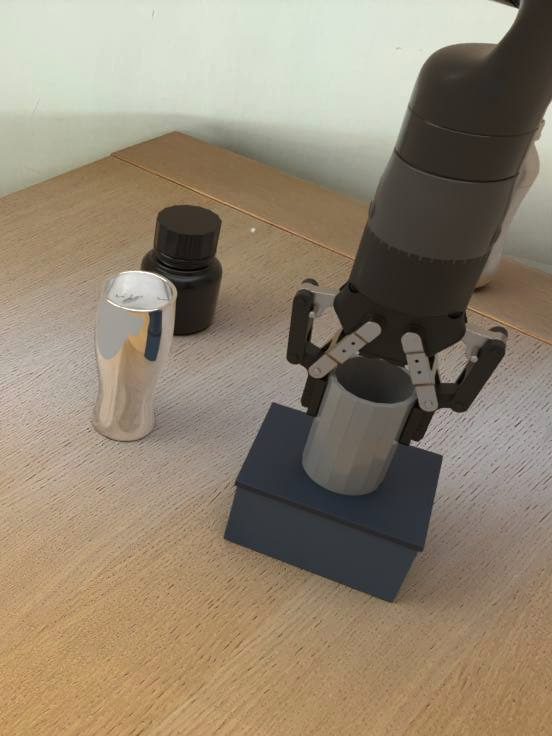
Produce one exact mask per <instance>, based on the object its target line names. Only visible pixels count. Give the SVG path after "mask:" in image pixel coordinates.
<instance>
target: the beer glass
mask: <svg viewBox="0 0 552 736" xmlns="http://www.w3.org/2000/svg"><path fill="white" fill-rule="evenodd" d="M176 298H177V290H176V288H175V286H174V285H173V283H172V282H171V281H169V280H168V279H166V278H165V277H163V276H161V275H158V274H156V273H152V272H148V271H141V270H140V269H128V270H122V271H117V272H115V273H112V274H110V275H108V276H107V277H106V278H104V280H103V281H102V282H101V284H100V292H99V297H98V303H97V306H96V307H97V308H96V313H95V322H94V332H93V333H94V335H93V336H94V337H93V342H94V343H93V344H94V355H95V363H96V366H95V367H96V373H97V382H98V383H97V384H98V386H97V387H98V389H97V396H96V398H95V401H94V402H95V403H94V405H93V408H92V412H91V422H92V426H93V427H94V428H95V430H96V431H97V432H98V433H100V434H101V435H103V436H104V437H106V438H108V439H110V440H115V441H121V442H131V441H137V440H141V439H142V438H144V437H146V436H148V435H149V434H151V432H152V431H153V429H154V426H155V408H154V407H155V406H154V401H155V400H154V399H155V393H156V390H157V388H158V387H157V386H158V385H159V382H160V379H161V376H162V374H163V371H164V368H165V366H166V363H167V361H168V358H169V355H170V352H171V351H170V350H171V348H172V343H173V339H174V334H173V333H174V325H175V313H176Z"/></svg>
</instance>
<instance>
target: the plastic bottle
mask: <svg viewBox="0 0 552 736" xmlns="http://www.w3.org/2000/svg"><path fill="white" fill-rule="evenodd" d="M545 124H546V120H545V119H544V118H543V120H542V122H541V124H540V126H539V129H538V131H537V134H536V136H535V138H534V141H533V143H532V145H531V148H530V150H529V152H528V155H527V157H526V159H525V162H524V164H523V166H522V169H521V172H520V174H519V177H518V180H517V183H516V187H515V191H514V195H513V199H512V202H511V206H510V208H509V211H508V214H507V216H506V218H505V220H504V223H503V225H502V232H501V235H500V237H499V239H498V240H497V242H496V243H495V244H494V246H493V248H492V251H491V253H490V255H489V258H488V260H487V262H486V265H485V267H484V269H483V272H482V274H481V276H480V279H479V281H478V283H477V285H476V288H475V289H477V288H478V289H479V288H482V287H483V286H485V285H487V284H489V283H490V282H491V281H492V280H493V279H494V277H495V276H496V274H497V273H498V271H499V268H500V264H501V260H502V254H503V248H504V245H505V242H506V239H507V236H508V233H509V229H510V227H511V225H512V223H513V220H514V217H515V216H516V215H517V213H518V210H519V208H520V206H521V204H522V202H523V201H524V199H525V198H526V196H527V195H528V194H529V193H528V192H530V190H531V188H532V186H533V184H534V183H535V181H536V180H537V177H538V176H539V174H540V170H541V169H540V166H541V161H540V156H539V153H538V150H537V147H536V145H535V143H536V142H537V141H539V140H540V139H541V137H542V131H543V129H544V126H545Z"/></svg>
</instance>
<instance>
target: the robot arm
mask: <svg viewBox="0 0 552 736" xmlns="http://www.w3.org/2000/svg"><path fill="white" fill-rule="evenodd" d="M488 1H490V2H492V3H496V4H500V5H504V6H506V7H510V8H513V9H517V10H518V11H517V13H516V16H515V19H514V21H513V22H512V24H511V26H510V28H509V29H508V31H507V32H506V33H505V34H504V36H503V37H502V38H501V39H500V40H499V42H497V43H490V42H489V43H488V42H461V43H455V44H450V45H446V46H443V47H440V48H439V49H438V50H436V51H434V52H433V53H431V54H430V55H429V56H428V58H426V60H425V61H424V63H423V64H422V65H421V68H420V69H419V72H418V74H417V77H416V79H415V82H414V85H413V88H412V91H411V94H410V98H409V100H408V103H407V106H406V109H405V113H404V114H403V115H404V116H403V118H402V121H401V125H400V128H399V132H398V133H397V134H398V135H397V137H396V141H395V145H394V147H393V150H392V153H391V155H390V158H389V159H388V161H387V163H386V165H385V167H384V169H383V172H382V174H381V176H380V179H379V181H378V184H377V187H376V190H375V194H374V197H373V199H372V200H371V202H370V203H369V206H368V211H367V215H368V216H367V219H366V223H365V225H364V229H363V231H362V235H361V237H360V241H359V245H358V248H357V251H356V254H355V257H354V260H353V264H352V267H351V270H350V273H349V277H348V279H347V281H346V282H344V284H342V285H341V286H340V287H339V288H333V287H326V286H320V285H319V283H318V281H317V280H316V279H315V278H310V277H309V278H305V279H303V280H302V282H301V284H300V285H299V287H298V289H297V290H296V293H295V295H294V296H293V299H292V306H291V314H290V322H289V331H288V339H287V347H286V355H285V358H286V361H287V362H288V363H289V364H291V365H295V366H296V365H297V366H298V365H300V366H302V367H303V368H304V369H305V370H306V371H307V378H306V381H305V384H304V386H303V387H304V388H303V391H302V394H301V397H300V405H301V407H303V408H307V409H306V411H305V412H306V415H309V416H312V417H315V416H316V413H317V410H318V407H319V404H320V400H321V397H322V394H323V391H324V388H325V385H326V382H327V377H328V374H329V372H330V371H331V370H332V369H333V368H335V367H336V366H337V365H338V364H340V365H341V364H342V363H344V362H345V361H346V360H347V359H349V358H350V357H351V356H352V355H353V354H357V352H358V354H359V355H360V356H364V357H367V358H374V359H383V360H385V361H387V362H389V363H390V364H392V365H395V366H399V367H402V368H405V367H406V366H407V367H408V368H407V369H408V370H409V372H410V376H411V381H412V384H413V386H415V389H416V394H417V398H418V399H417V401H416V404H415V405H414V408H413V410H412V412H411V415H410V417H409V419H408V422H407V424H406V427H405V429H404V431H403V434H402V436H401V438H400V441H399V444H402V445H405V446H409V445H411V442H412V441H413V442H416V443H419V442H421V441H422V440H423V439H424V438H425V435H426V433H427V431H428V428H429V426H430V424H431V422H432V420H433V417H434V415H435V413H436V412H437V411H438V410H441V409H450V410H451V411H453V412H455V413H458V414H462V413H465V412H467V411H468V410H469V409H470V407H471V406H472V404H473V403H474V401H475V400H476V398H477V397H478V396H479V394H480V393H481V391H482V390H483V388H484V387H485V385H486V384H487V382H488V381H489V379H490V378H491V377H492V375H493V373H494V372H495V371H496V369H497V368H498V366H499V364H500V363H501V362H502V360H503V358H504V357H505V355H506V351H507V350H506V349H507V344H508V336H509V332H508V329H506V328H505V327H504V326H501V325H500V326H499V325H496V326H492V327H490V328H489V329H486V328H484V327H481V326H478V325H475V324H473V323H470V322H469V321H468V315H467V309H468V306H469V304H470V301H471V299H472V297H473V295H474V292H475V290H476V289H477V288H476V285H477V283H478V281H479V279H480V276H481V274H482V272H483V269H484V267H485V265H486V262H487V260H488V258H489V255H490V253H491V251H492V248H493V246H494V244H495V243H496V242H497V240H498V239H499V237H500V235H501V232H502V225H503V223H504V220H505V218H506V216H507V214H508V211H509V208H510V206H511V202H512V199H513V195H514V191H515V187H516V183H517V180H518V177H519V174H520V172H521V169H522V166H523V164H524V162H525V159H526V157H527V155H528V152H529V150H530V148H531V145H532V143H533V141H534V138H535V136H536V134H537V131H538V129H539V126H540V124H541V122H542V120H543V119H544V118H545V115H546V112H547V110H548V108H549V106H550V104H551V103H552V0H488ZM331 307H332V308H333V310H334V313H335V315H336V317H337V319H338V321H339V323H340V325H341V327H340V328H338V330H336V332H335V333H334V334H333V336H331V338H329V339H328V340H327V341H326V342H325V343H324V344H323V345H321V346H320V347H319V346H317V345H316V344H314V343H313V342H311V341H312V335H313V330H314V329H313V328H314V322H315V319H317V318H320V317H322V315H323V314H324V311H325V310H326V309H327V308H331ZM460 341H461V342H462V343H464V344H465V350H464V355H465V358H466V359H467V360H468V361H467V363H466V364H465V365H464V367H463V369H462V370H461V372H460V373H459V375H458V376H457V378H456V380H455V381H454V382H443V381H442V376H441V372H440V367H439V355H438V354H439V353H441V352H442V351H445V350H446V349H448V348H450V347H452V346H454V345H456V344H457V343H458V344H459V342H460Z"/></svg>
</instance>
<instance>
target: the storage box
mask: <svg viewBox="0 0 552 736" xmlns="http://www.w3.org/2000/svg"><path fill="white" fill-rule="evenodd" d="M306 412H307V411H302V410H299V409H296V408H293V407H291V406H287V405H283V404H280V403H277V402H273V401H272V402H271V404H270V406H269V408H268V411H267V413H266V415H265V417H264V419H263V421H262V423H261V426H260V427H259V430H258V431H257V433H256V436H255V438H254V440H253V442H252V443H251V447H250V448H249V450H248V453H247V455H246V457H245V459H244V460H243V461H244V462H243V463H242V466H241V468H240V469H239V472H238V473H237V476H236V478H235V480H234V483H233V484H234V485H233V486H234V487H236V488H235V492H234V496H233V500H232V504H231V507H230V510H229V515H228V519H227V523H226V527H225V530H224V533H223V540H227V541H229V542H231V543H235V544H237V545H240V546H242V547H245V548H246V549H247V548H248V549H250V550H253V551H255V552H258V553H260V554H262V555H266V556H268V557H271V558H273V559H276V560H279V561H281V562H284V563H287V564H289V565H291V566H294V567H297V568H300V569H301V570H302V569H303V570H305V571H308V572H310V573H312V574H315V575H318V576H320V577H323V578H326V579H329V580H331V581H333V582H336V583H339V584H342V585H344V586H346V587H349V588H352V589H354V590H357V591H360V592H362V593H365V594H367V595H370V596H373V597H375V598H378V599H381V600H383V601H386V602H389V603H391V604H393V603H394V601H395V599H396V597H397V595H398V593H399V591H400V590H401V588H402V585H403V584H404V581H405V579H406V577H407V575H408V574H409V571H410V569H411V567H412V565H413V564H414V562H415V559H416V557H417V555H418V553H422V552H423V551H424V550H425V546H426V541H427V535H428V531H429V526H430V522H431V521H430V520H431V516H432V512H433V508H434V502H435V497H436V494H437V493H436V492H437V489H438V483H439V480H440V479H439V478H440V473H441V468H442V464H443V460H444V455H443V454H440V453H436V452H433V451H430V450H427V449H424V448H420V447H417V446H414V445H412V444H409V446H405V445H402V444H398V446H397V449H396V451H395V454H394V456H393V458H392V461H391V463H390V465H389V468H388V470H387V473H386V475H385V477H384V480H383V481H382V483H381V485H380V486H379V487H378V488H377V489H376V490H374V491H373V492H371V493H368V494H365V495H357V496H351V495H343V494H339V493H335V492H332V491H330V490H327V489H325V488H323V487H322V486H320V485H318V484H317V483H316V482H314V481H313V480H312V479H311V478H310V477H309V476H308V474H307V473H306V472H305V470H304V468H303V465H302V456H303V451H304V448H305V445H306V442H307V439H308V436H309V433H310V430H311V427H312V423H313V420H314V417H312V416H309V415H306Z"/></svg>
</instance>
